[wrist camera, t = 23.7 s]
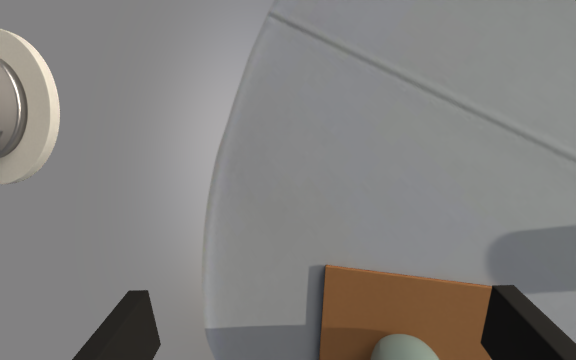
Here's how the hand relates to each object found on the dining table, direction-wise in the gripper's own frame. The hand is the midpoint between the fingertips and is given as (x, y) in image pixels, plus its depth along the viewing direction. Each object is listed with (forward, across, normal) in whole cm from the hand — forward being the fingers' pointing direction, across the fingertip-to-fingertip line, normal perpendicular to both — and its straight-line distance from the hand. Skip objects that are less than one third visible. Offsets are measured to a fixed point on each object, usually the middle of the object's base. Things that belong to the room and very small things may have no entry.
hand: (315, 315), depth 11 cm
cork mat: (+17, +10, -21) cm, 29 cm away
